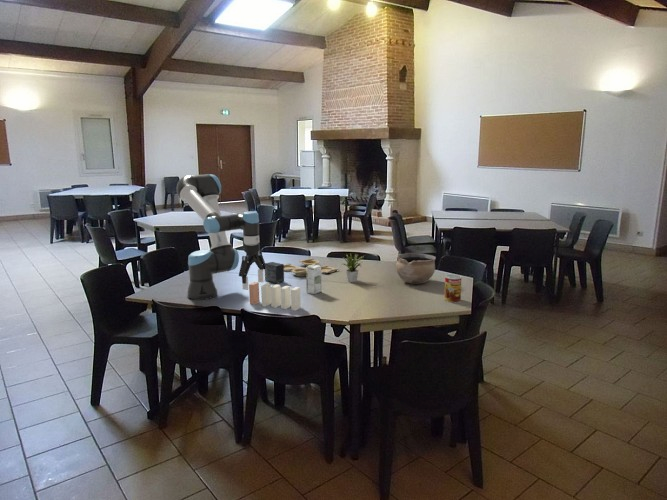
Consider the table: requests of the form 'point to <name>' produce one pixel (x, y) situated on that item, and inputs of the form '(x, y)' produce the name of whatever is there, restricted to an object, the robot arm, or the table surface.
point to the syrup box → (313, 279)
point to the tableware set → (302, 271)
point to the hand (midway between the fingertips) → (253, 285)
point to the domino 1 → (254, 292)
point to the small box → (274, 272)
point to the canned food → (452, 288)
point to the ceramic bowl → (415, 267)
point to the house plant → (352, 268)
